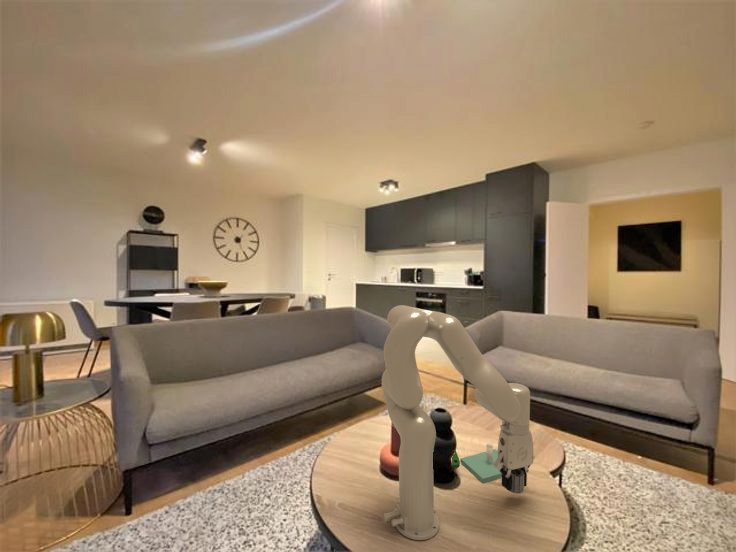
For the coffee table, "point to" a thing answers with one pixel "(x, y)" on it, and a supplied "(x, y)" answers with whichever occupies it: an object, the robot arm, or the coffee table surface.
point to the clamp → (455, 461)
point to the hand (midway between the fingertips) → (513, 485)
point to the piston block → (483, 464)
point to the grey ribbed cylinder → (517, 480)
